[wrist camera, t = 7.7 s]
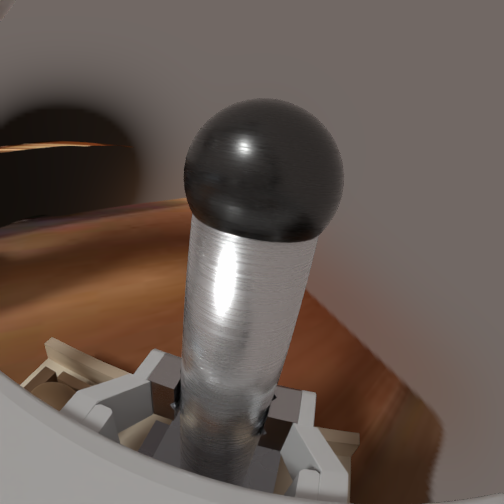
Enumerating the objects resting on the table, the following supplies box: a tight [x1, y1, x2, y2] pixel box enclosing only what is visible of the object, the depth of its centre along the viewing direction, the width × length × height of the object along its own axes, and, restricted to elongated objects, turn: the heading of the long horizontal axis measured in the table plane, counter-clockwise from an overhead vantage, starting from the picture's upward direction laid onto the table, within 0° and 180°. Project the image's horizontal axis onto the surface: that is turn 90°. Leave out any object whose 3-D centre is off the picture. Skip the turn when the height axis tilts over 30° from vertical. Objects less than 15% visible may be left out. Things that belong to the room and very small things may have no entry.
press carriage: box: [138, 99, 344, 493], centre depth 10 cm, size 7×9×18 cm
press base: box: [20, 337, 360, 503], centre depth 14 cm, size 23×12×4 cm, turn 78°
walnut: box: [31, 382, 76, 411], centre depth 14 cm, size 4×4×4 cm
